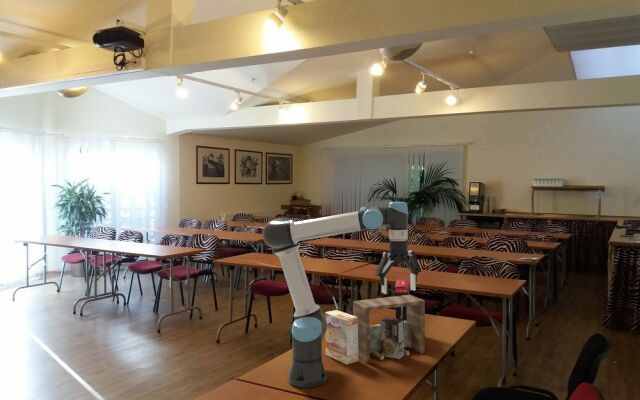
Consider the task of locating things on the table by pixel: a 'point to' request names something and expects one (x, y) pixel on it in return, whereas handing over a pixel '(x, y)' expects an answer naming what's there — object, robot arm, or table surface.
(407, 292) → the graphics card box
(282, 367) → the table surface
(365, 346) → the bridge shelf
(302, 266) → the robot arm
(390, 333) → the coffee box
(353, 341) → the coffeecake box
